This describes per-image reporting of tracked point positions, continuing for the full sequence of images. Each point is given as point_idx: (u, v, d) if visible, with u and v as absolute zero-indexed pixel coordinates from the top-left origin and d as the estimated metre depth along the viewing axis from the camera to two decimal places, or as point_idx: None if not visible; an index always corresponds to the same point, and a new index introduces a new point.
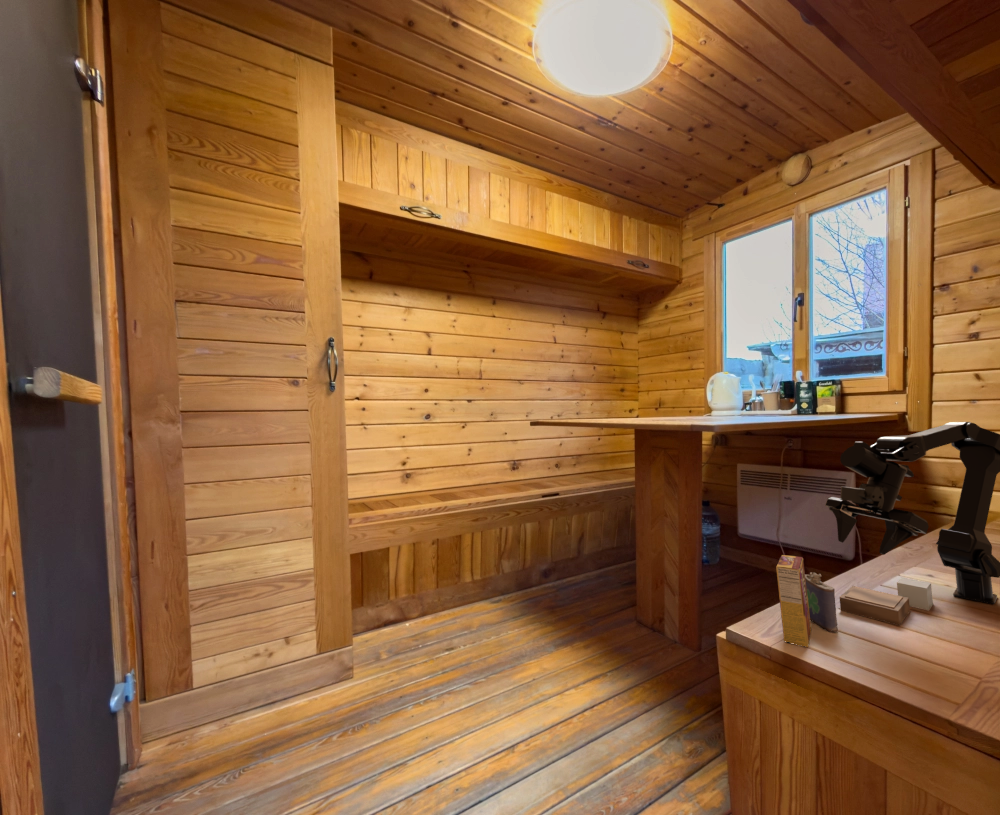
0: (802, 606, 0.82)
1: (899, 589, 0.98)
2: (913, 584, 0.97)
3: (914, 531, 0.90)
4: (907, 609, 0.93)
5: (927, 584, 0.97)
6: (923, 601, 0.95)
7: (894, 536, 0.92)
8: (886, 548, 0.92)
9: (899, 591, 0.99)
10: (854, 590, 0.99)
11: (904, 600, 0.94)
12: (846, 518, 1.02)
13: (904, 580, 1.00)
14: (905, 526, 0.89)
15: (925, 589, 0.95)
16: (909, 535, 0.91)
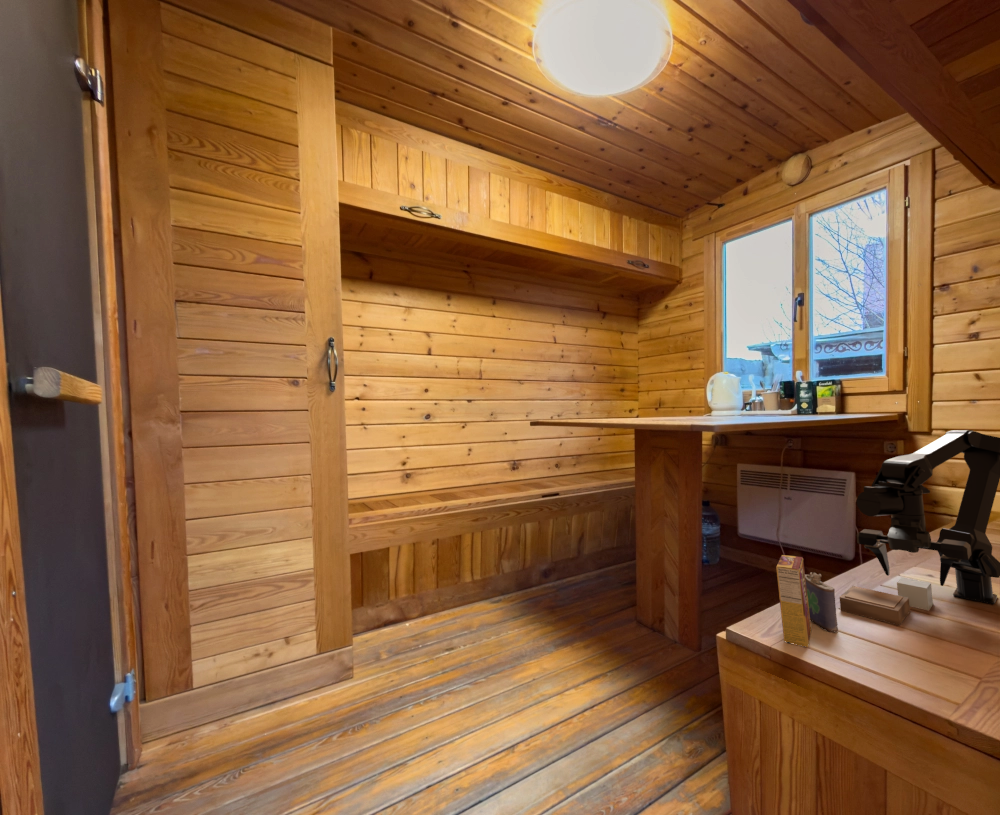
0: (802, 606, 0.82)
1: (899, 589, 0.98)
2: (913, 584, 0.97)
3: None
4: (907, 609, 0.93)
5: (927, 584, 0.97)
6: (923, 601, 0.95)
7: None
8: (945, 579, 0.94)
9: (899, 591, 0.99)
10: (854, 590, 0.99)
11: (904, 600, 0.94)
12: (883, 550, 1.03)
13: (904, 580, 1.00)
14: (960, 558, 0.92)
15: (925, 589, 0.95)
16: None
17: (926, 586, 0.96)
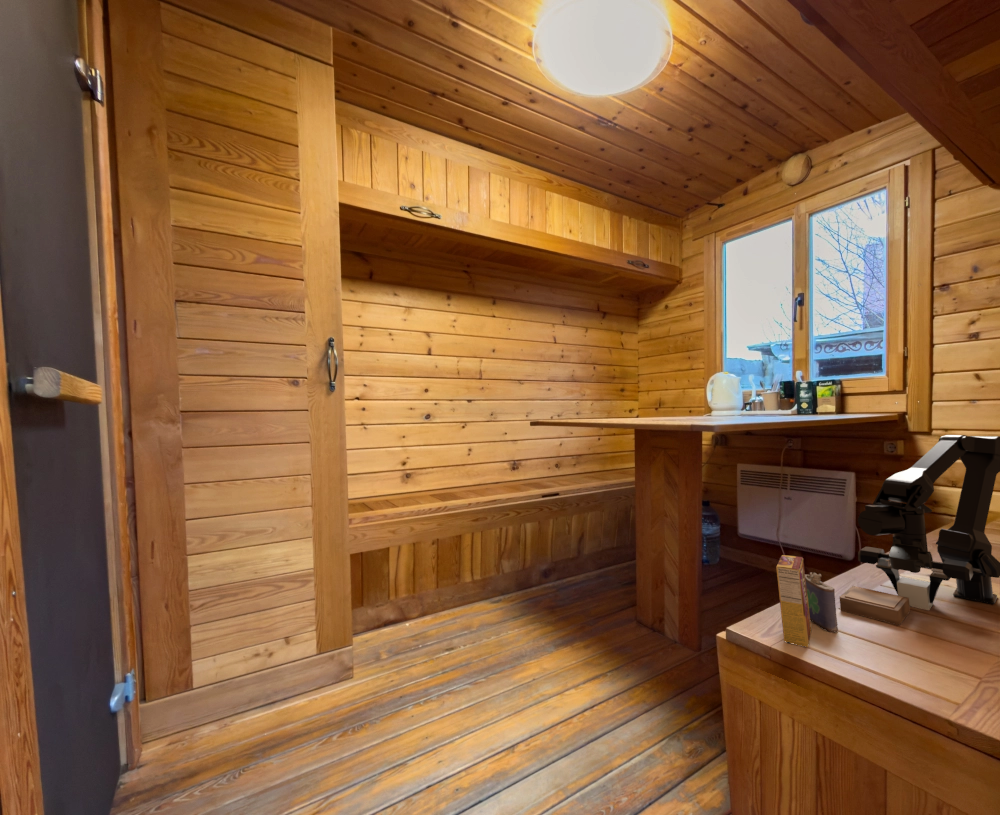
0: (802, 606, 0.82)
1: (899, 589, 0.98)
2: (913, 584, 0.97)
3: None
4: (907, 609, 0.93)
5: (927, 584, 0.97)
6: (923, 600, 0.95)
7: None
8: (934, 597, 0.95)
9: (899, 591, 0.99)
10: (854, 590, 0.99)
11: (904, 600, 0.94)
12: (895, 570, 1.01)
13: (904, 580, 1.00)
14: None
15: (925, 589, 0.95)
16: None
17: (926, 586, 0.96)
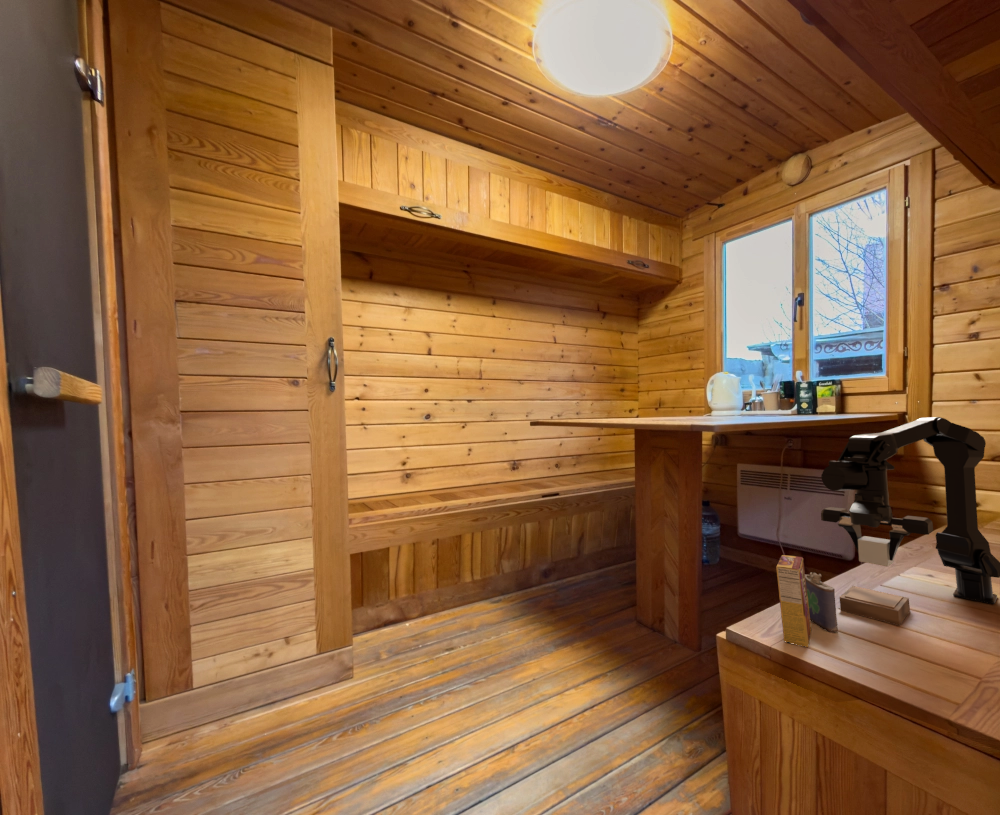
0: (802, 606, 0.82)
1: (860, 546, 0.97)
2: (874, 541, 0.96)
3: None
4: (907, 609, 0.93)
5: (888, 541, 0.95)
6: (882, 557, 0.94)
7: None
8: (894, 554, 0.94)
9: (860, 548, 0.97)
10: (854, 590, 0.99)
11: (904, 600, 0.94)
12: (856, 529, 0.99)
13: (865, 538, 0.98)
14: (908, 532, 0.91)
15: (885, 545, 0.94)
16: None
17: (886, 542, 0.94)
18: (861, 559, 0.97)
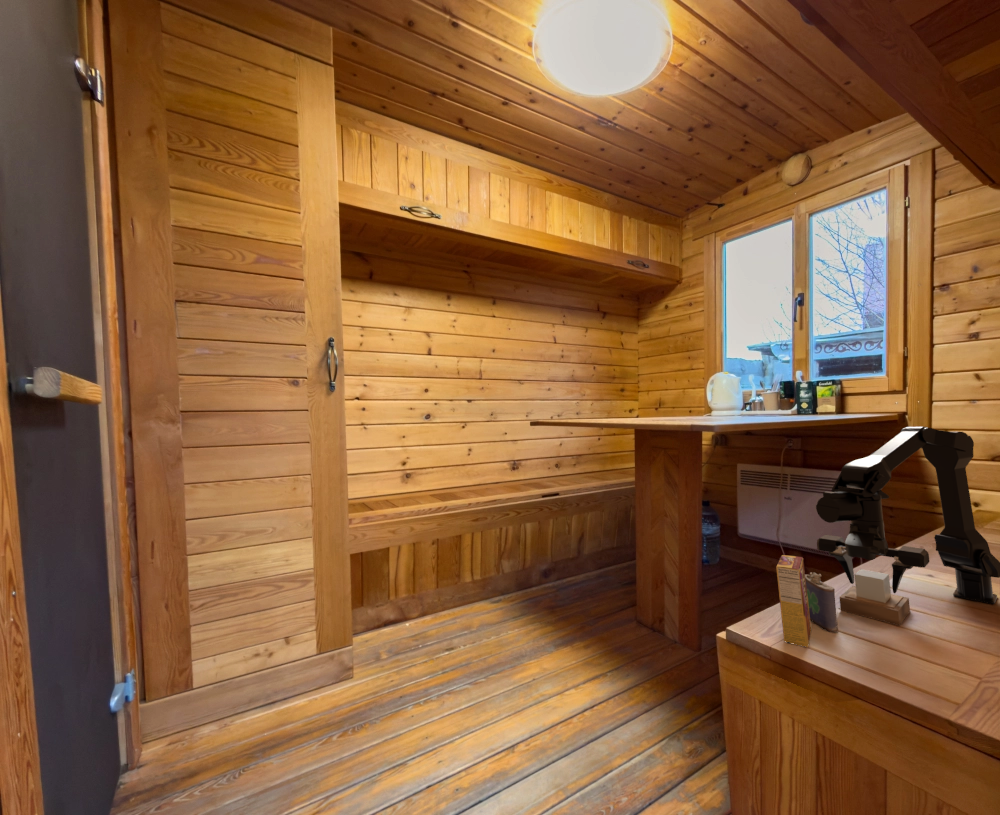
0: (802, 606, 0.82)
1: (857, 581, 0.96)
2: (871, 576, 0.95)
3: None
4: (907, 609, 0.93)
5: (885, 576, 0.95)
6: (880, 592, 0.93)
7: None
8: (897, 586, 0.92)
9: (857, 583, 0.96)
10: (854, 590, 0.99)
11: (904, 600, 0.94)
12: (847, 557, 0.99)
13: (862, 572, 0.97)
14: (911, 565, 0.90)
15: (882, 580, 0.93)
16: None
17: (883, 577, 0.94)
18: (858, 594, 0.96)
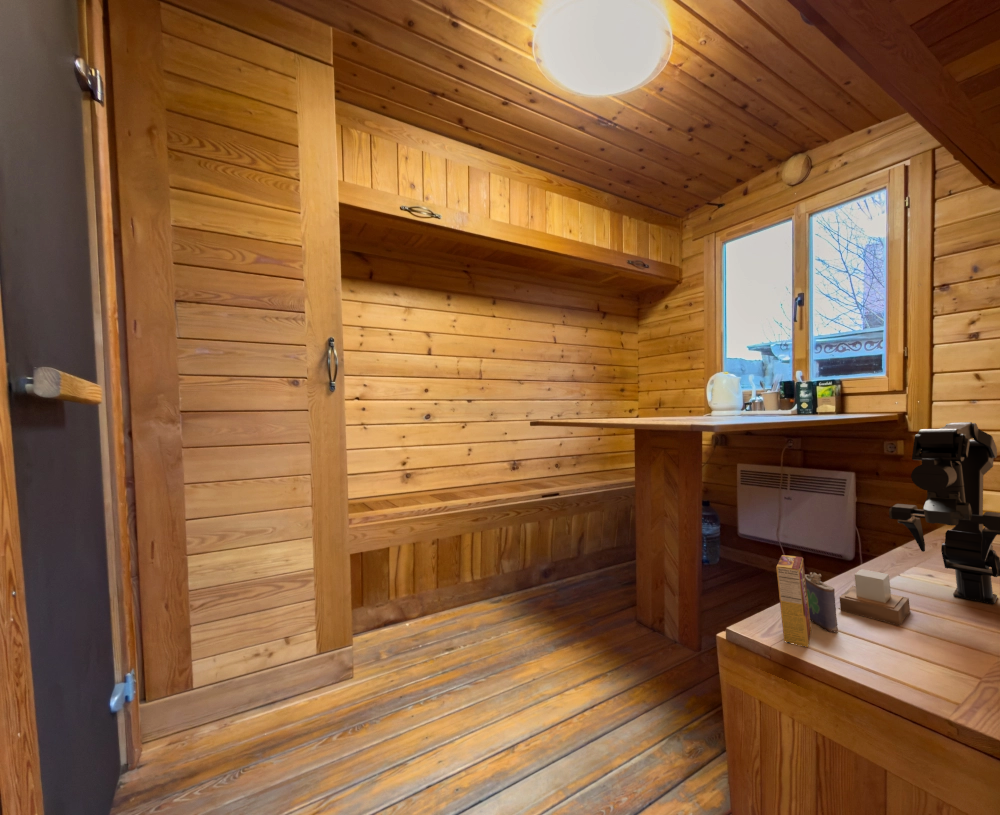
0: (802, 606, 0.82)
1: (857, 581, 0.96)
2: (871, 576, 0.95)
3: None
4: (907, 609, 0.93)
5: (885, 576, 0.95)
6: (880, 592, 0.93)
7: None
8: (987, 554, 0.88)
9: (857, 583, 0.96)
10: (854, 590, 0.99)
11: (904, 600, 0.94)
12: (917, 525, 0.97)
13: (862, 572, 0.97)
14: None
15: (882, 580, 0.93)
16: None
17: (883, 577, 0.94)
18: (858, 594, 0.96)
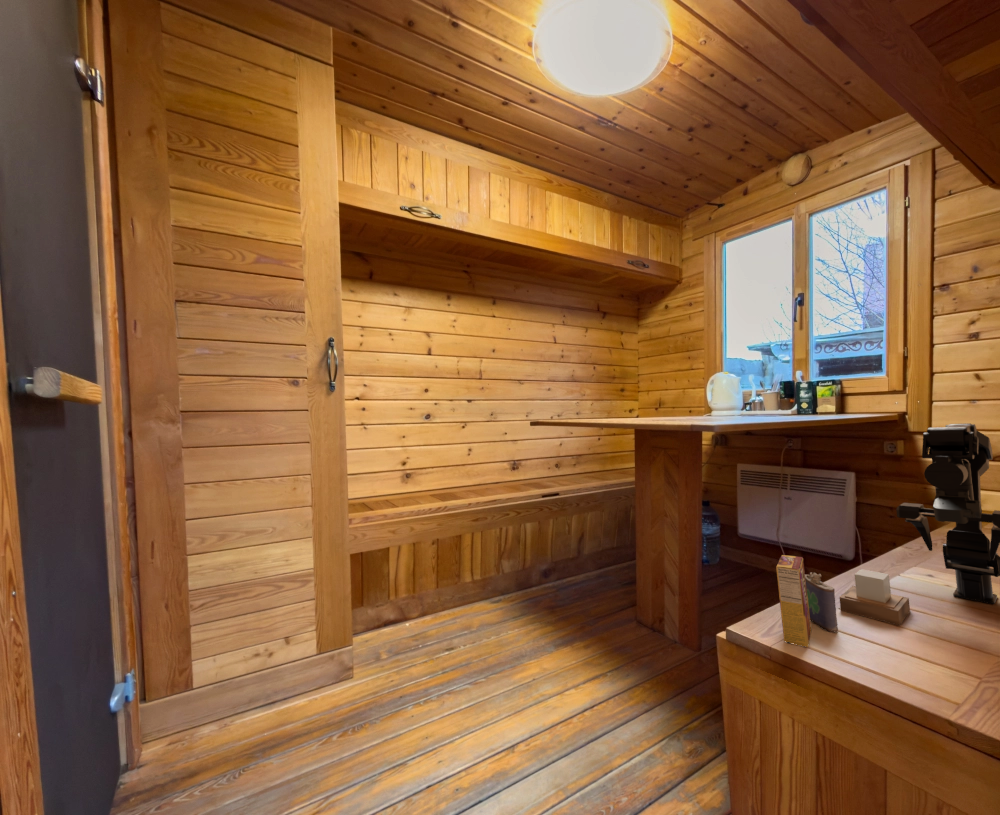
0: (802, 606, 0.82)
1: (857, 581, 0.96)
2: (871, 576, 0.95)
3: None
4: (907, 609, 0.93)
5: (885, 576, 0.95)
6: (880, 592, 0.93)
7: None
8: (995, 553, 0.88)
9: (857, 583, 0.96)
10: (854, 590, 0.99)
11: (904, 600, 0.94)
12: (925, 524, 0.96)
13: (862, 572, 0.97)
14: None
15: (882, 580, 0.93)
16: None
17: (883, 577, 0.94)
18: (858, 594, 0.96)
